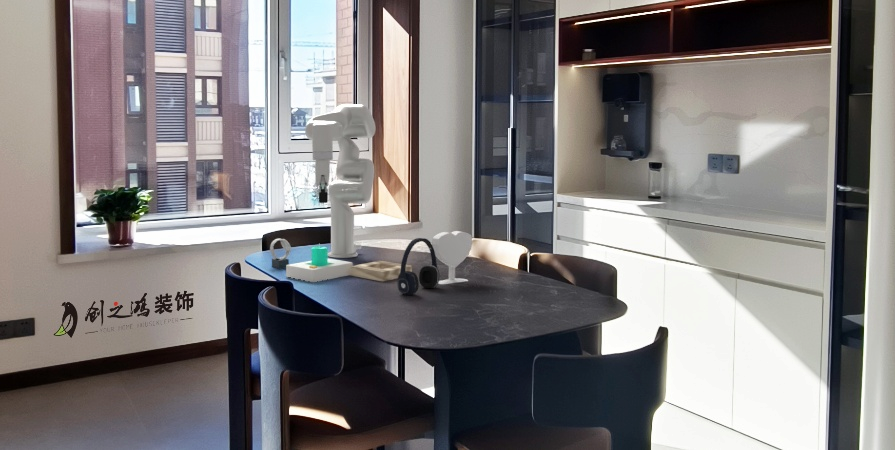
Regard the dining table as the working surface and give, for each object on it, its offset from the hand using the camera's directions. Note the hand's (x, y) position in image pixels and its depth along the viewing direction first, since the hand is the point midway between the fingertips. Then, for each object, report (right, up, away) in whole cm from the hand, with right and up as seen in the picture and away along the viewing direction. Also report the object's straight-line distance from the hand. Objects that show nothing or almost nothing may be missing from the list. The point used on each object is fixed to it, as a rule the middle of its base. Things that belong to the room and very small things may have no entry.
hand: (323, 200), depth 332 cm
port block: (0, -28, -11) cm, 30 cm away
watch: (-17, -26, +5) cm, 31 cm away
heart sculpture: (+49, -30, -17) cm, 60 cm away
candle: (0, -28, -11) cm, 30 cm away
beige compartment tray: (+23, -28, -8) cm, 37 cm away
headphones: (+37, -32, -35) cm, 60 cm away
